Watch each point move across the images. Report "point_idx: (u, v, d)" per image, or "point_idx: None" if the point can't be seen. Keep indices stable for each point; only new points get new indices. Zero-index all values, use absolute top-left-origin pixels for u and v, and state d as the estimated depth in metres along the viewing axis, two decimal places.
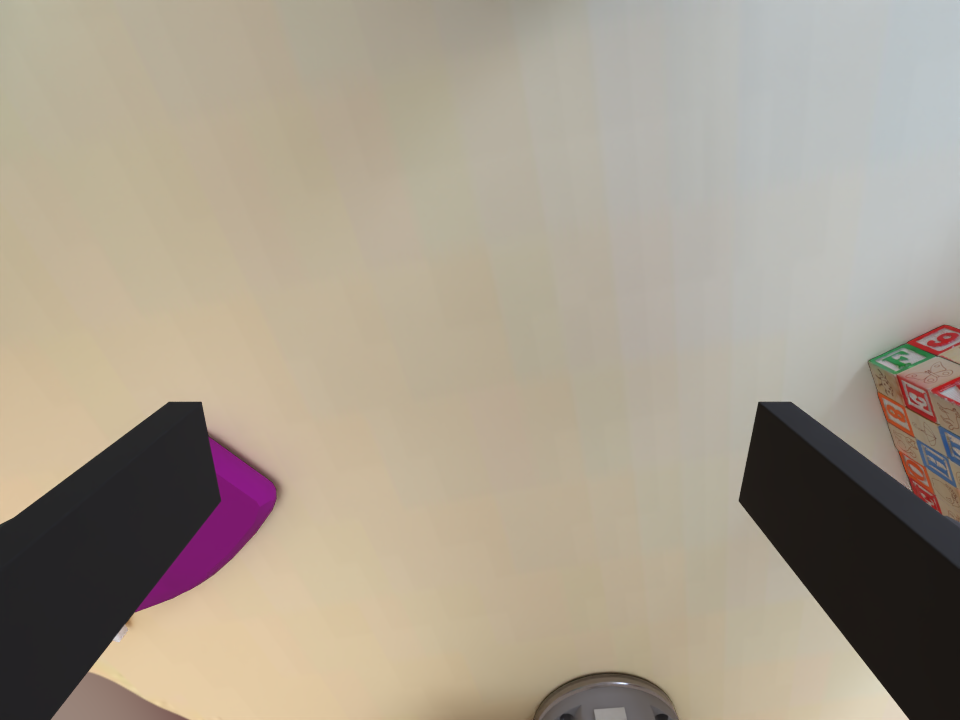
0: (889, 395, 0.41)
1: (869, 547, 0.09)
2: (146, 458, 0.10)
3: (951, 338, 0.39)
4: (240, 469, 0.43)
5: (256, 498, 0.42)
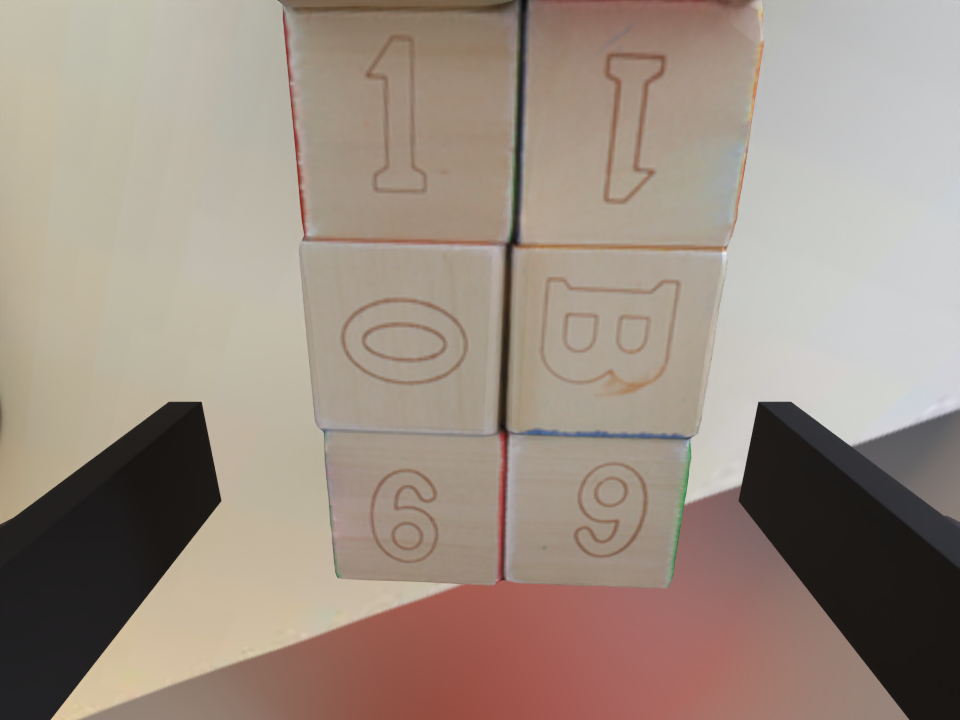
0: None
1: (869, 547, 0.09)
2: (146, 458, 0.10)
3: None
4: None
5: None
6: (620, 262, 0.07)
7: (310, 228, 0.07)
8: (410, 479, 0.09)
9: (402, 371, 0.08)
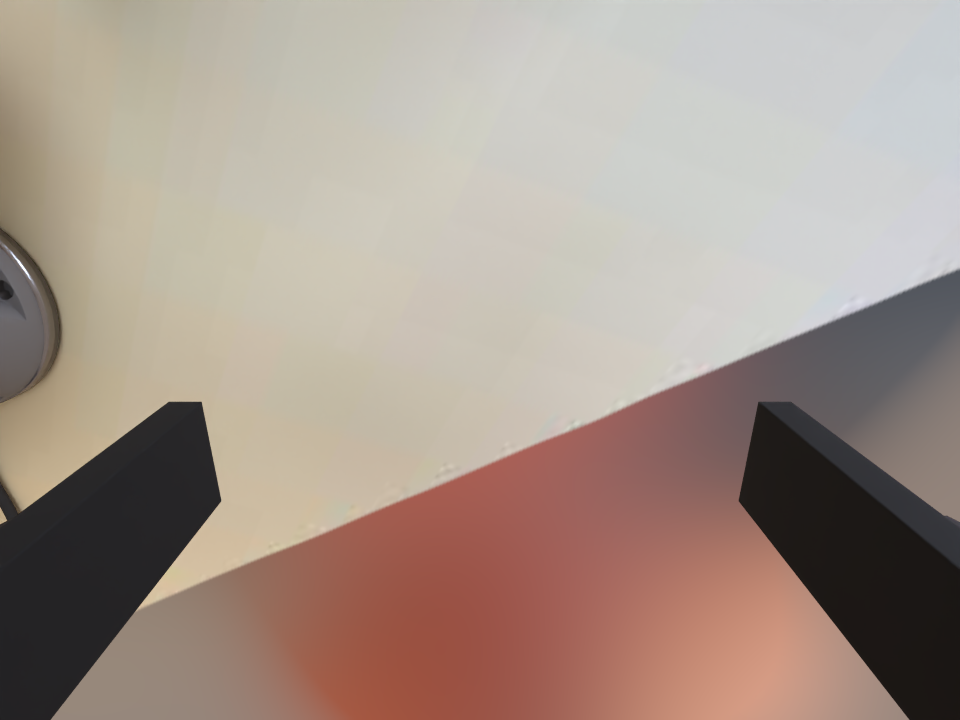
0: None
1: (869, 547, 0.09)
2: (145, 458, 0.10)
3: None
4: None
5: None
6: None
7: None
8: None
9: None
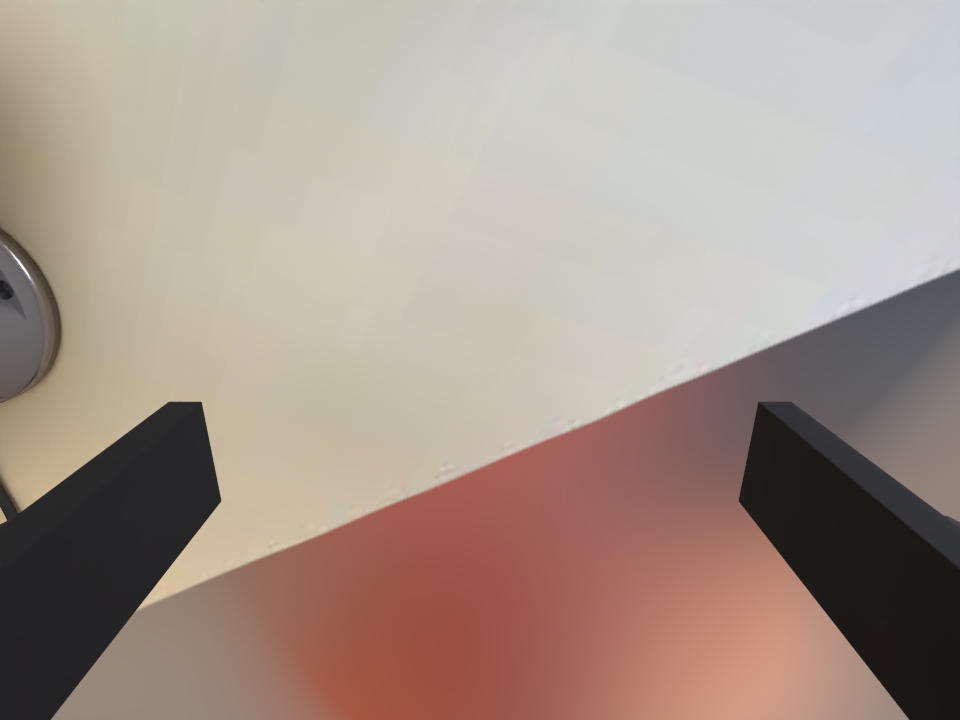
0: None
1: (869, 547, 0.09)
2: (145, 458, 0.10)
3: None
4: None
5: None
6: None
7: None
8: None
9: None
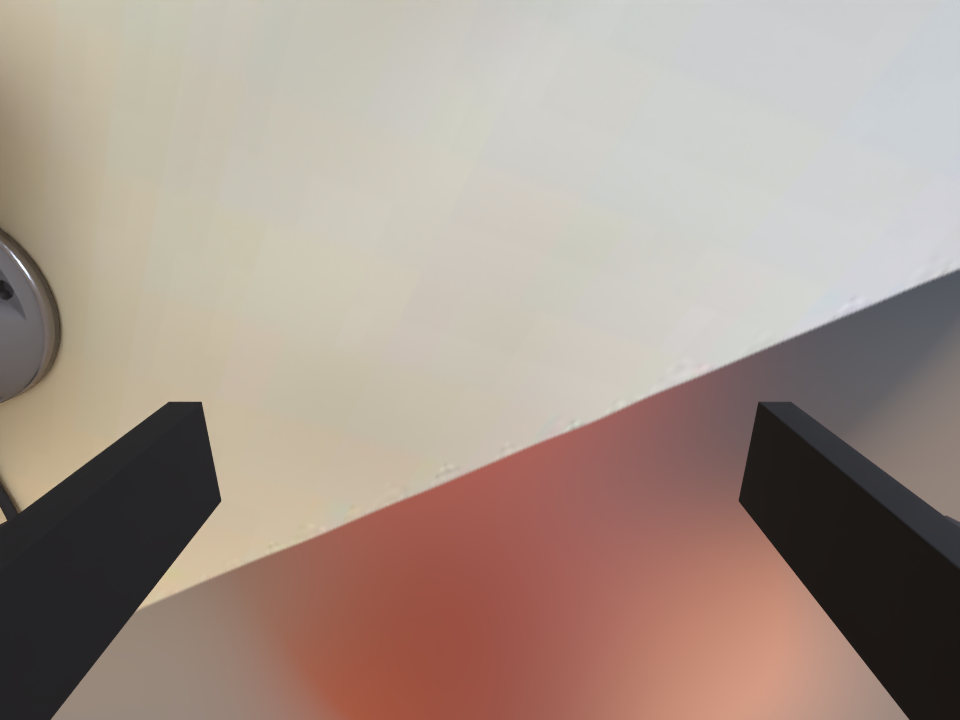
0: None
1: (869, 547, 0.09)
2: (145, 458, 0.10)
3: None
4: None
5: None
6: None
7: None
8: None
9: None
